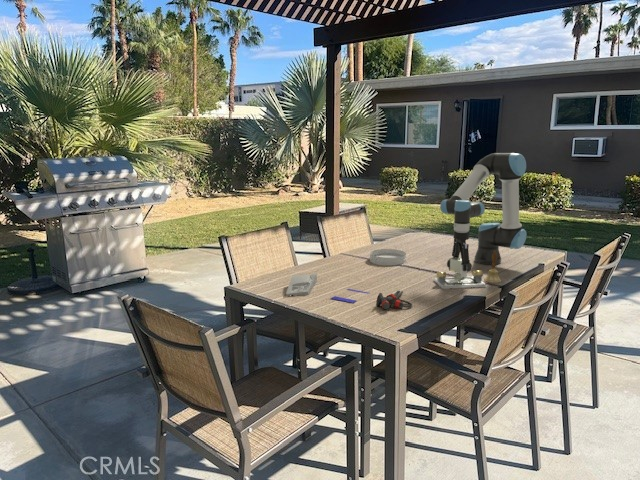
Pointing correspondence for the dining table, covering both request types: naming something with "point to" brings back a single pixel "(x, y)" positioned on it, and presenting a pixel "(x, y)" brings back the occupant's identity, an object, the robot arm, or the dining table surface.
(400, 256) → the dish
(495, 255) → the hand bell
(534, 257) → the dining table surface
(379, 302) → the grey red jointed piece
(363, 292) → the flat strips
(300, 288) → the ramp
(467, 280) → the plate
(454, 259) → the pneumatic valve
